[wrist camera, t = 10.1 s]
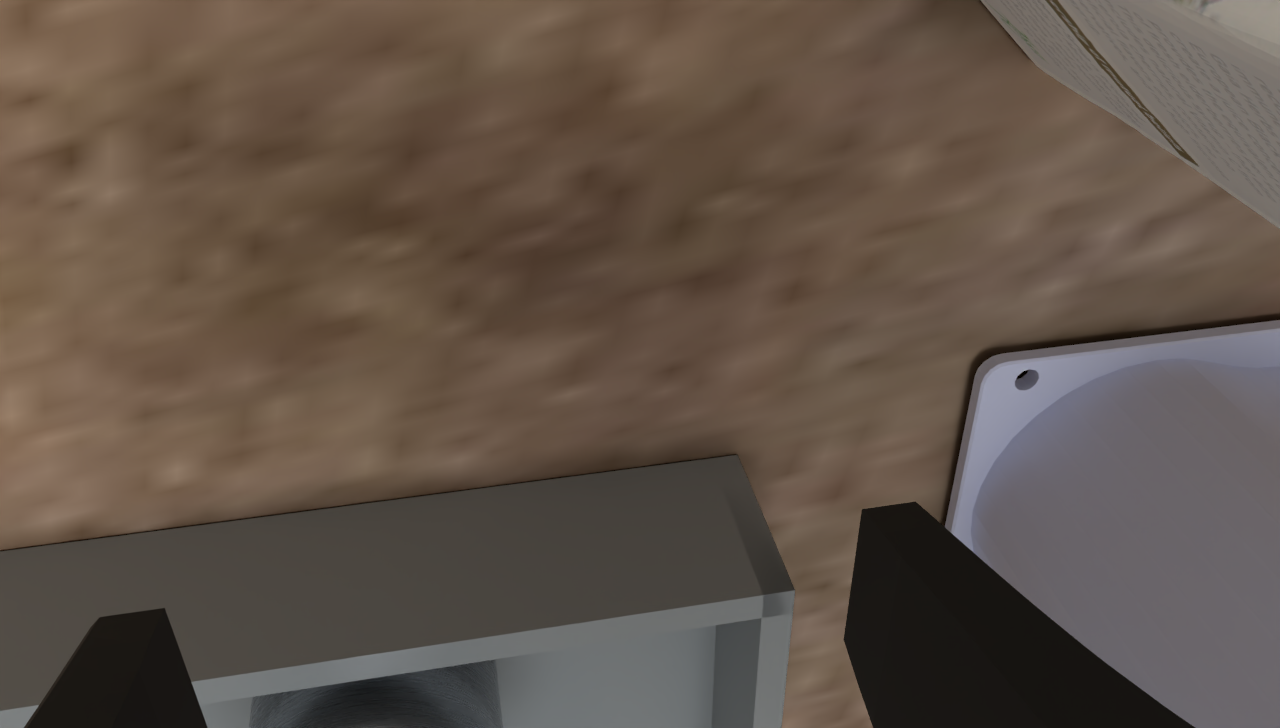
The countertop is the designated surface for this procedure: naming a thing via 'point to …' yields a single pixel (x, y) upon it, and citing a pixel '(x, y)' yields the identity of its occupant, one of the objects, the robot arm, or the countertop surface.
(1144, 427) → the robot arm
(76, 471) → the countertop surface
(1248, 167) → the syrup box
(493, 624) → the tote
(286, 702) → the metal can
